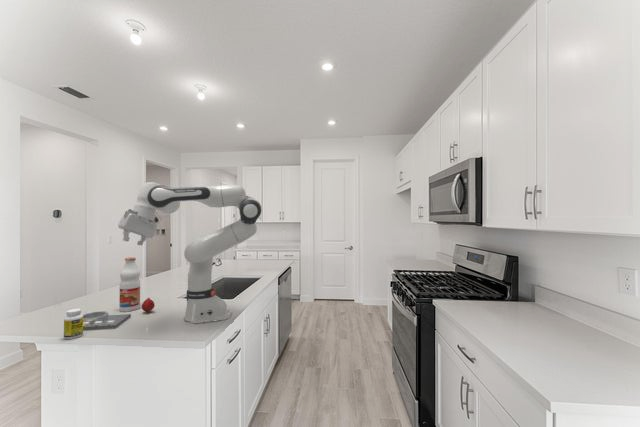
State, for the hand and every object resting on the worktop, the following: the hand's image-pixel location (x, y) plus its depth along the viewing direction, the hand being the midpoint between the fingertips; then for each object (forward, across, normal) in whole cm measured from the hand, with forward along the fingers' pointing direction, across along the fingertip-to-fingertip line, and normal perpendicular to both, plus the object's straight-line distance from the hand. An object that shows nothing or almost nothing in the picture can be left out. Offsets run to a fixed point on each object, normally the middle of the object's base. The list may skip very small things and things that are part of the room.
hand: (132, 243), depth 132 cm
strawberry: (+32, +30, +1) cm, 44 cm away
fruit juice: (+32, +34, +15) cm, 49 cm away
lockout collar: (+37, +13, +16) cm, 43 cm away
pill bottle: (+42, 0, +11) cm, 44 cm away
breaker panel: (+38, +14, +12) cm, 42 cm away
